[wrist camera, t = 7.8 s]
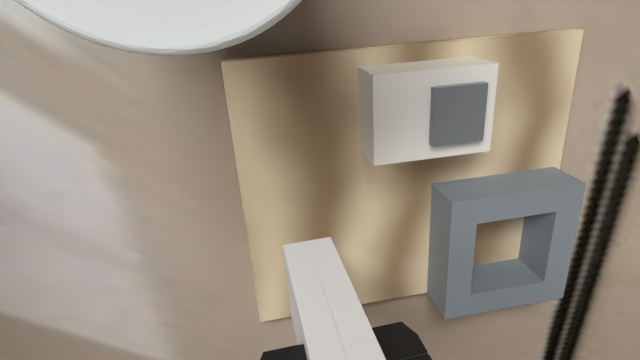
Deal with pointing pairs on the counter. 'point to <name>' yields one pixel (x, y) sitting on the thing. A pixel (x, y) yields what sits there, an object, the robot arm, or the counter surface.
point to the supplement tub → (163, 22)
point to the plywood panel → (382, 180)
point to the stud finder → (426, 109)
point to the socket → (535, 247)
